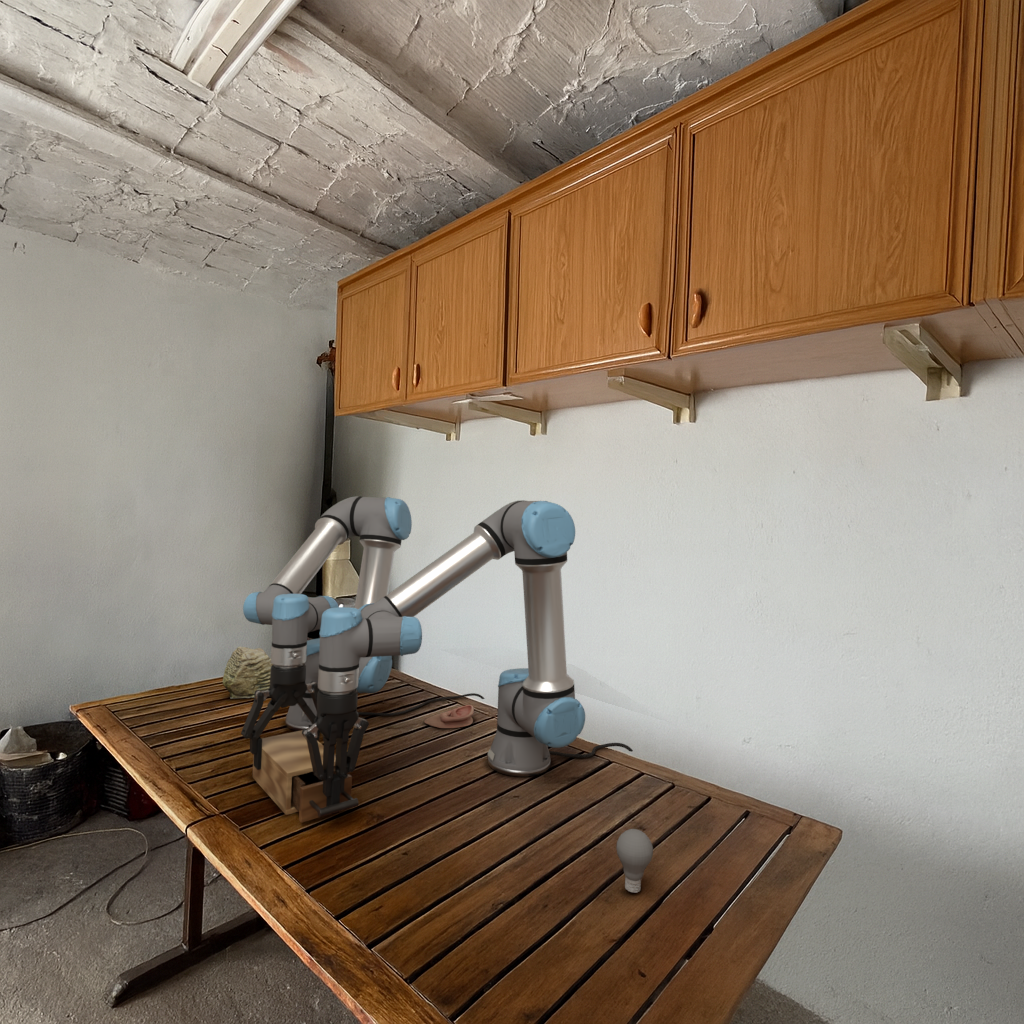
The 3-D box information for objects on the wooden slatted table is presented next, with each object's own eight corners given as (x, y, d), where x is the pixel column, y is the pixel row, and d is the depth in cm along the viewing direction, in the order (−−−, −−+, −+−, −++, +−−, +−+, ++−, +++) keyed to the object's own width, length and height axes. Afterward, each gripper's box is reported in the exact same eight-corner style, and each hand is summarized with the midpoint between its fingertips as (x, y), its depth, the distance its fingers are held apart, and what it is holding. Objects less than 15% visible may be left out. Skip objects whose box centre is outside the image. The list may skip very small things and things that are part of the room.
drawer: (363, 819, 123) (365, 786, 123) (313, 835, 117) (314, 801, 117) (312, 773, 142) (314, 745, 142) (266, 785, 136) (267, 755, 136)
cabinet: (340, 799, 133) (341, 759, 133) (285, 815, 126) (287, 773, 125) (302, 765, 149) (303, 729, 148) (252, 777, 141) (253, 740, 141)
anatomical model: (421, 711, 177) (434, 699, 188) (420, 725, 177) (433, 712, 188) (466, 717, 174) (477, 704, 186) (466, 731, 174) (476, 717, 186)
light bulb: (610, 879, 108) (613, 822, 108) (644, 879, 109) (647, 822, 109) (619, 902, 102) (622, 840, 102) (655, 901, 103) (658, 840, 103)
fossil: (218, 695, 195) (220, 647, 195) (278, 685, 208) (279, 640, 207) (228, 703, 189) (230, 653, 188) (289, 692, 201) (290, 645, 201)
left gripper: (238, 675, 131) (234, 780, 131) (345, 661, 146) (342, 754, 147) (227, 667, 137) (224, 767, 137) (332, 654, 152) (328, 744, 152)
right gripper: (312, 700, 115) (306, 828, 115) (377, 689, 123) (372, 809, 123) (297, 689, 120) (292, 811, 121) (360, 679, 129) (355, 794, 129)
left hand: (285, 761), depth 142 cm, fingers closed on cabinet, 11 cm apart
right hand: (332, 810), depth 122 cm, fingers closed
